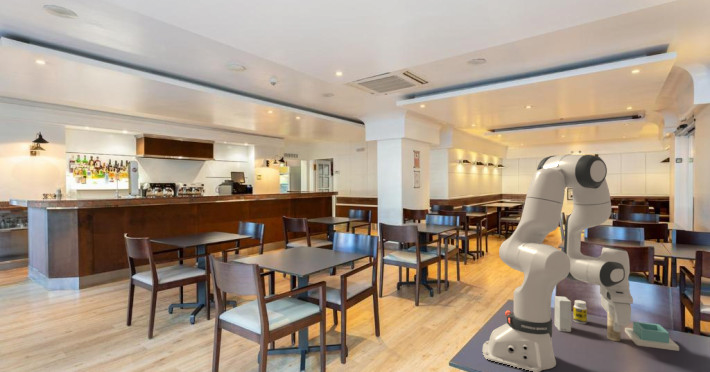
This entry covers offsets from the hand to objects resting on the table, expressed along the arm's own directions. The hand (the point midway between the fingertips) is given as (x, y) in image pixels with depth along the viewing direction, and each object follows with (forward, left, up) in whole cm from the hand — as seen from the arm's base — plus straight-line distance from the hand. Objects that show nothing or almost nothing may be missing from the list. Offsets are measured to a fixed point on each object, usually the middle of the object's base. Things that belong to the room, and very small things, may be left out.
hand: (613, 327), depth 132 cm
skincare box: (-16, +4, -4) cm, 17 cm away
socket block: (+12, +3, -4) cm, 13 cm away
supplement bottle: (-8, +14, -4) cm, 17 cm away
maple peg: (0, 0, -4) cm, 4 cm away
